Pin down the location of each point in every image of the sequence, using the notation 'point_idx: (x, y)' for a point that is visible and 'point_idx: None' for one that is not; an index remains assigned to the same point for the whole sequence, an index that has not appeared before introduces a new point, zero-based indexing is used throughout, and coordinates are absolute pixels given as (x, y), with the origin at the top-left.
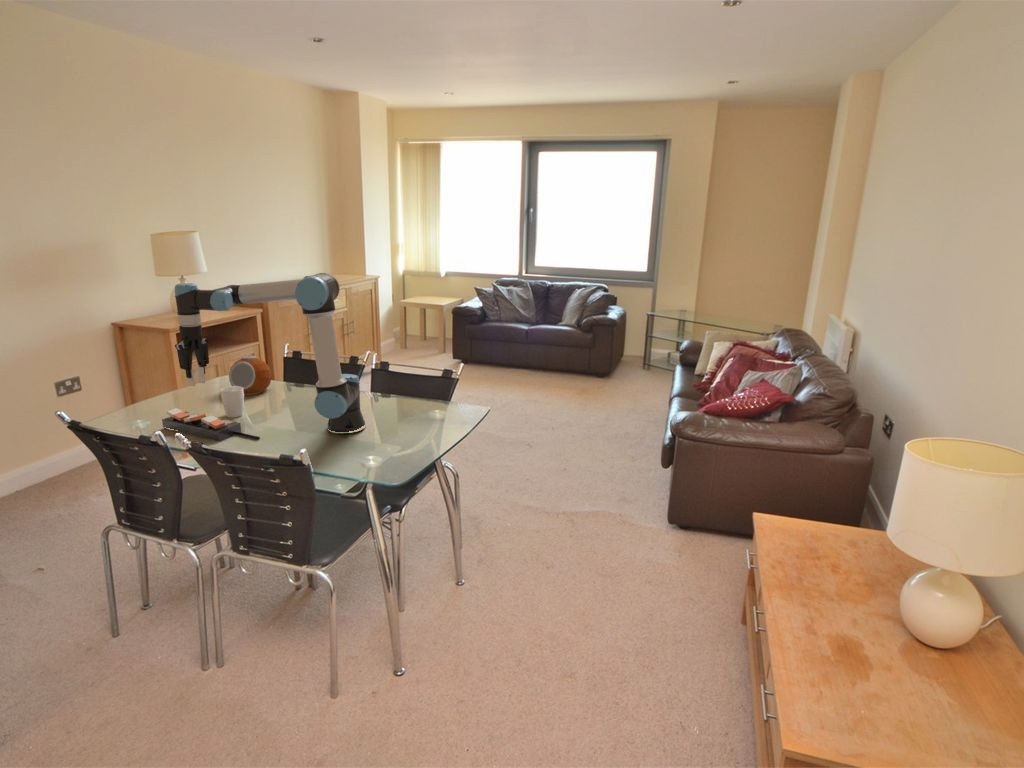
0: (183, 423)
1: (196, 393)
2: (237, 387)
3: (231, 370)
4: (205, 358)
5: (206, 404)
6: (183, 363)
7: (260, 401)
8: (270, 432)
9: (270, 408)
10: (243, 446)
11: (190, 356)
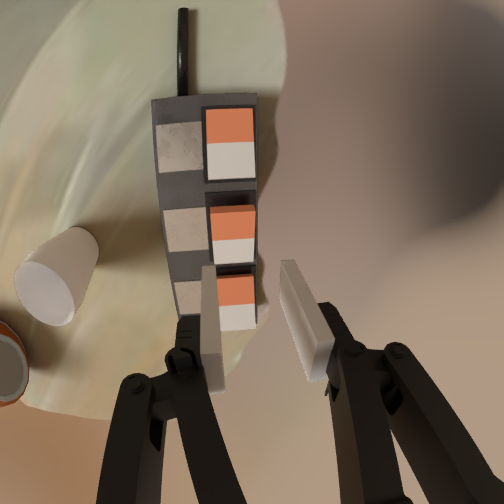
0: (256, 251)
1: (87, 400)
2: (25, 301)
3: (15, 395)
4: (148, 431)
5: (95, 354)
6: (430, 385)
7: (4, 277)
8: (117, 34)
9: (3, 215)
10: (247, 10)
11: (382, 458)
